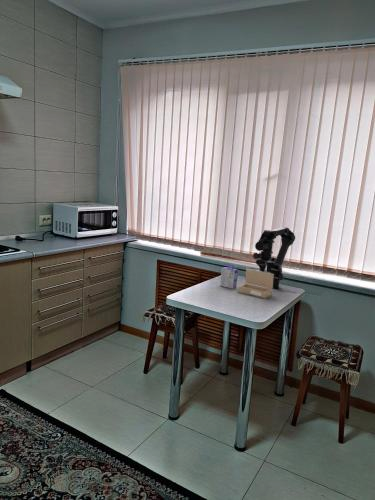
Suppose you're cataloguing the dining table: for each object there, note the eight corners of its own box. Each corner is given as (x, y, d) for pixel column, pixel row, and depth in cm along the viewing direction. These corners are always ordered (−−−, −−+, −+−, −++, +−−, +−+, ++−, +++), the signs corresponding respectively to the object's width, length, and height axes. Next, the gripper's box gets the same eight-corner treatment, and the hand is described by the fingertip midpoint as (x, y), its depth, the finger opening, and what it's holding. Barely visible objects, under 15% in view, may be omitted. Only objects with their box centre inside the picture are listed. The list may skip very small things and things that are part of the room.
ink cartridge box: (236, 287, 252) (239, 265, 250) (233, 289, 247) (235, 266, 245) (223, 284, 257) (225, 263, 255) (219, 285, 252) (221, 264, 250)
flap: (245, 282, 247) (250, 280, 252) (272, 288, 237) (276, 285, 242) (246, 268, 245) (250, 266, 250) (273, 274, 234) (277, 271, 240)
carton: (245, 289, 248) (245, 283, 248) (271, 295, 238) (272, 289, 237) (237, 292, 240) (238, 286, 239) (264, 298, 230) (265, 292, 229)
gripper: (261, 246, 257) (259, 269, 259) (249, 249, 242) (246, 273, 244) (277, 249, 250) (275, 272, 253) (265, 251, 235) (263, 276, 238)
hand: (264, 273), depth 247 cm, fingers open, 9 cm apart
